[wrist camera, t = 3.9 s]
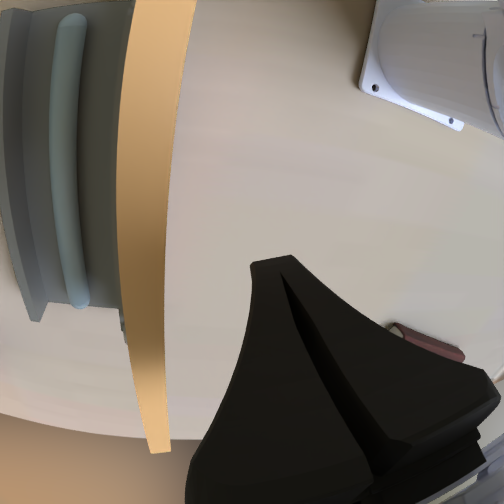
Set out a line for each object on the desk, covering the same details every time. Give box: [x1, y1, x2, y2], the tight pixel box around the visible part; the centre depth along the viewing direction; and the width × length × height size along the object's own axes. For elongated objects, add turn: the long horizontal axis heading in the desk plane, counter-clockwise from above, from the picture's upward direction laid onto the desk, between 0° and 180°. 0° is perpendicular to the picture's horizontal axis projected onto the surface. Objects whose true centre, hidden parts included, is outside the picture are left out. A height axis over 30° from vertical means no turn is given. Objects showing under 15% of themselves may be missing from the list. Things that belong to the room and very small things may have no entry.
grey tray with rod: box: [0, 0, 136, 345], centre depth 14 cm, size 9×21×4 cm, turn 169°
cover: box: [116, 0, 197, 454], centre depth 11 cm, size 9×18×1 cm
